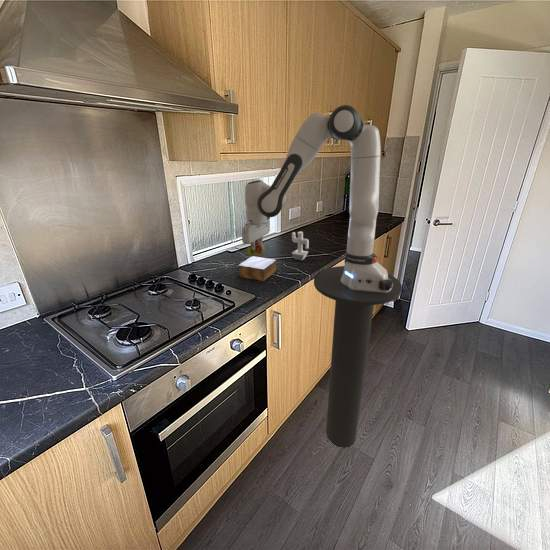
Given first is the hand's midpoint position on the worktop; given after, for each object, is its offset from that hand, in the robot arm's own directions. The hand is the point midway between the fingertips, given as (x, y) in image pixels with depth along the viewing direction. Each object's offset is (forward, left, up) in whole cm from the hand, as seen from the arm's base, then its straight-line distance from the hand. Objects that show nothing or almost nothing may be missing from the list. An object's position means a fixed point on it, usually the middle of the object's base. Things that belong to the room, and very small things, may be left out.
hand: (257, 247), depth 137 cm
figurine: (-11, -28, -14) cm, 33 cm away
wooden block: (0, 0, -13) cm, 13 cm away
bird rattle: (0, 0, -4) cm, 4 cm away
